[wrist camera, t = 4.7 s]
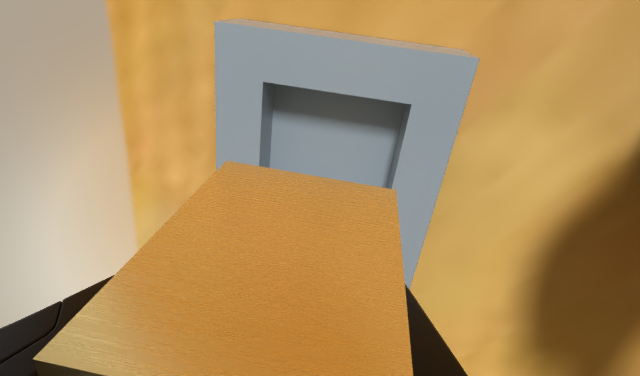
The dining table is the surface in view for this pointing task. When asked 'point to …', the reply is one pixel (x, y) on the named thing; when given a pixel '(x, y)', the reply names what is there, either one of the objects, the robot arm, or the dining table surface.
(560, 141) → the dining table surface
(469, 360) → the dining table surface
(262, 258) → the block
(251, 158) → the grey slotted plate
